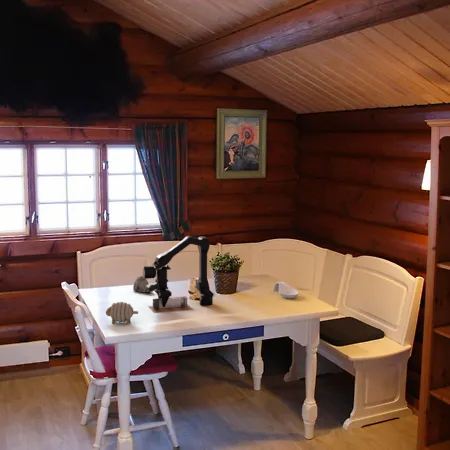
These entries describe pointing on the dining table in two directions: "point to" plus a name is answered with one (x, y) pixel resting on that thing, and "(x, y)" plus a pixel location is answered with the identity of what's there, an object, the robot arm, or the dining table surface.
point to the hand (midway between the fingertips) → (162, 305)
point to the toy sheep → (120, 312)
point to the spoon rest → (285, 290)
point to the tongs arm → (169, 303)
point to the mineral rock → (140, 284)
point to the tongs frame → (176, 297)
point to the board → (170, 309)
